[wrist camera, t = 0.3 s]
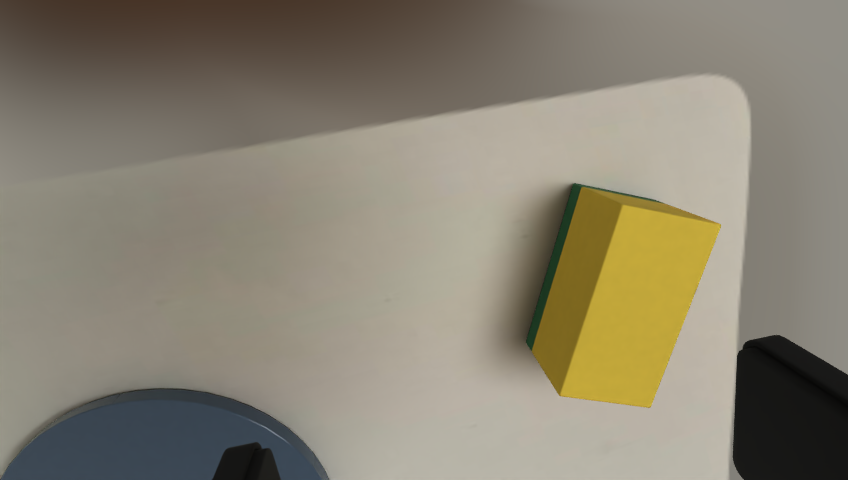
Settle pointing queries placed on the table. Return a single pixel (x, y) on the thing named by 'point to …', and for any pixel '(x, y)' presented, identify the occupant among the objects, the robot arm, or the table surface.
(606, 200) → the sponge
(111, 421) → the plate
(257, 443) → the robot arm
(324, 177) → the table surface
